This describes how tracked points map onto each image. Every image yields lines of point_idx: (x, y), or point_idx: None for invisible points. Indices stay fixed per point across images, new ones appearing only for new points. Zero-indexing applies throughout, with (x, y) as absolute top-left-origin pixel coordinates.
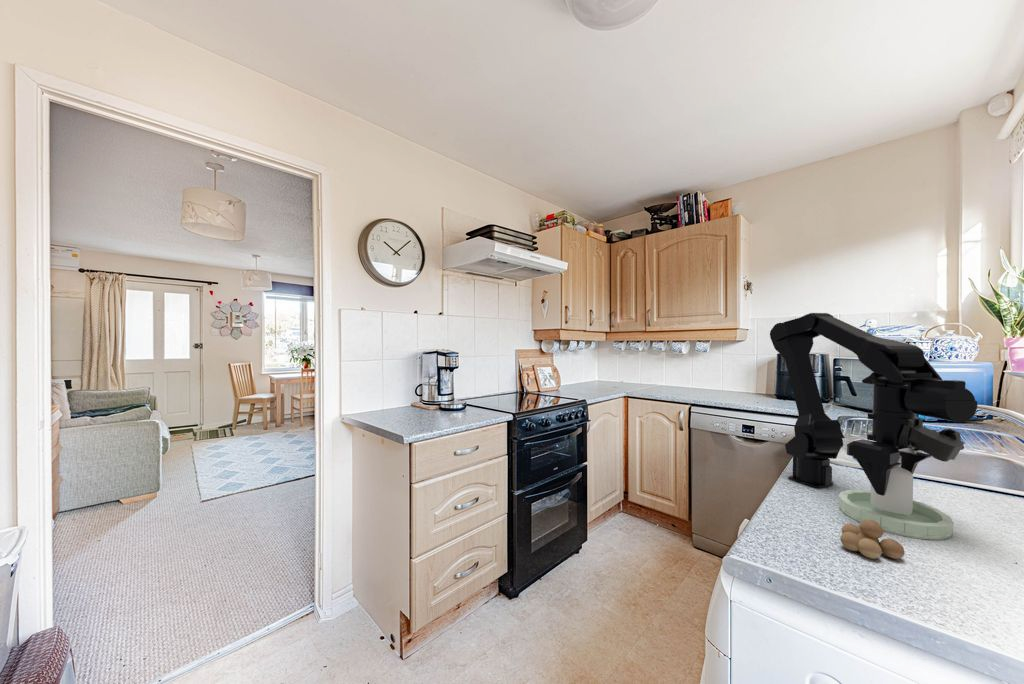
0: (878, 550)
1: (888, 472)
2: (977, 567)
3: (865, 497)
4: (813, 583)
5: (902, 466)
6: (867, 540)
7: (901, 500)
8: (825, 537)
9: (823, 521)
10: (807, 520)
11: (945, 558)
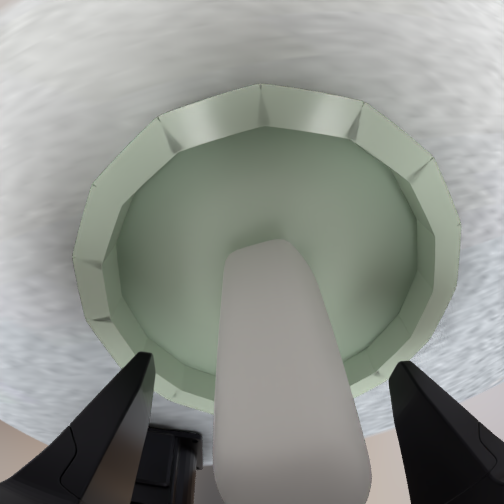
0: None
1: (500, 460)
2: (489, 25)
3: (188, 375)
4: None
5: (110, 488)
6: None
7: (323, 310)
8: None
9: (462, 344)
10: (475, 356)
11: (500, 92)
